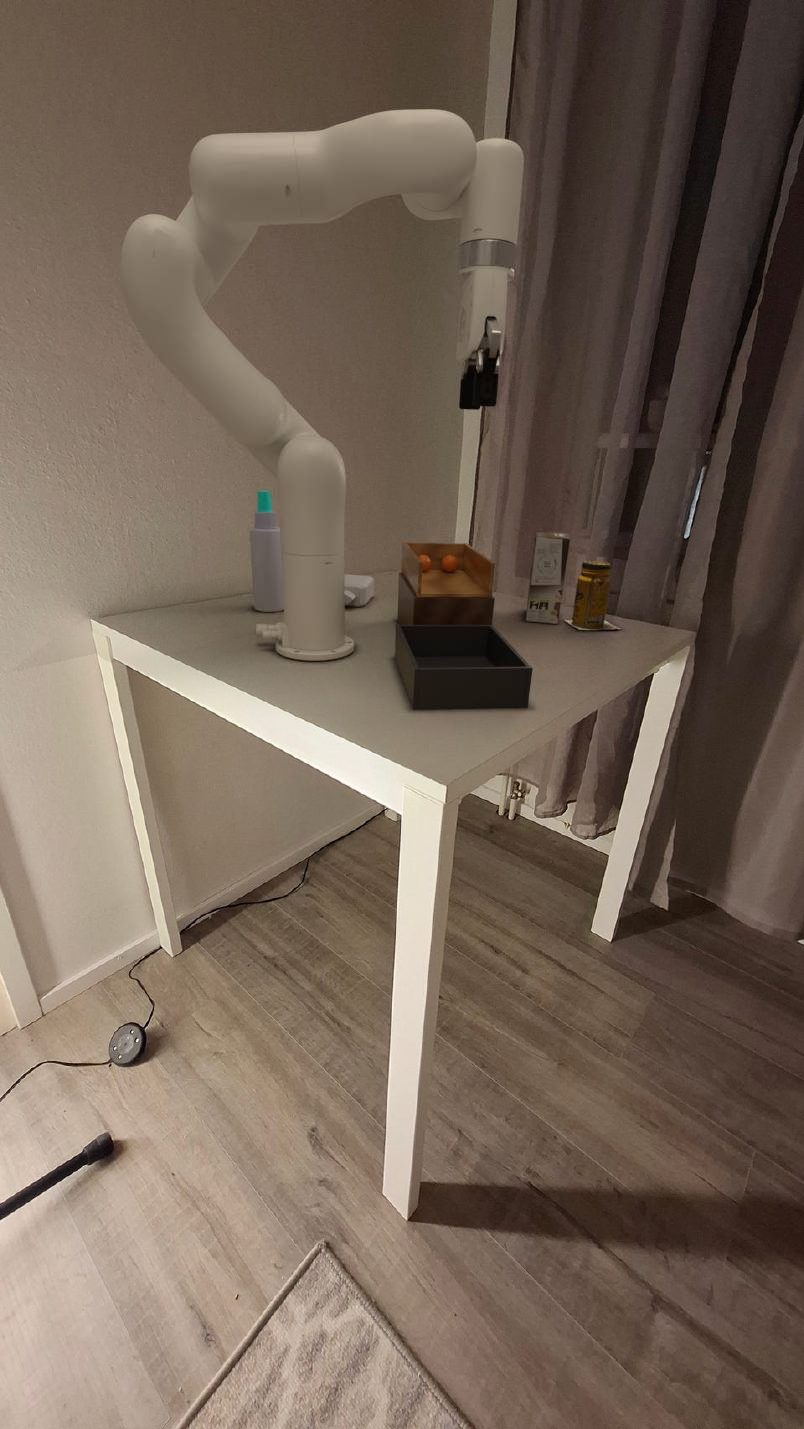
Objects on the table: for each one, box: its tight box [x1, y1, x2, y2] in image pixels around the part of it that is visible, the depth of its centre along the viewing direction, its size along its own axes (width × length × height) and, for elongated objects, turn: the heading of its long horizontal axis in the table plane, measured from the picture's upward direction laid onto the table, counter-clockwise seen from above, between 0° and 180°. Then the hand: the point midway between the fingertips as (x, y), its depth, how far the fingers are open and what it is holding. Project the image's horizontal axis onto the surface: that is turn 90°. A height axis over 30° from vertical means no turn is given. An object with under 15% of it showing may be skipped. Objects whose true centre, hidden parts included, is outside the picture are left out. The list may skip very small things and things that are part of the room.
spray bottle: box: [248, 490, 284, 613], centre depth 117 cm, size 6×6×22 cm
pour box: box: [401, 541, 496, 598], centre depth 108 cm, size 12×26×5 cm, turn 7°
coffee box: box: [525, 531, 571, 625], centre depth 120 cm, size 9×6×16 cm
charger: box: [345, 573, 375, 608], centre depth 126 cm, size 5×9×15 cm
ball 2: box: [442, 555, 458, 572], centre depth 112 cm, size 3×3×3 cm
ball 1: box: [418, 555, 431, 572], centre depth 111 cm, size 3×3×3 cm
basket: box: [394, 624, 534, 711], centre depth 87 cm, size 15×20×6 cm
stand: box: [396, 572, 496, 625], centre depth 108 cm, size 13×20×9 cm, turn 7°
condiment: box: [564, 560, 622, 631], centre depth 117 cm, size 7×8×12 cm
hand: (476, 407), depth 89 cm, fingers open, 9 cm apart
